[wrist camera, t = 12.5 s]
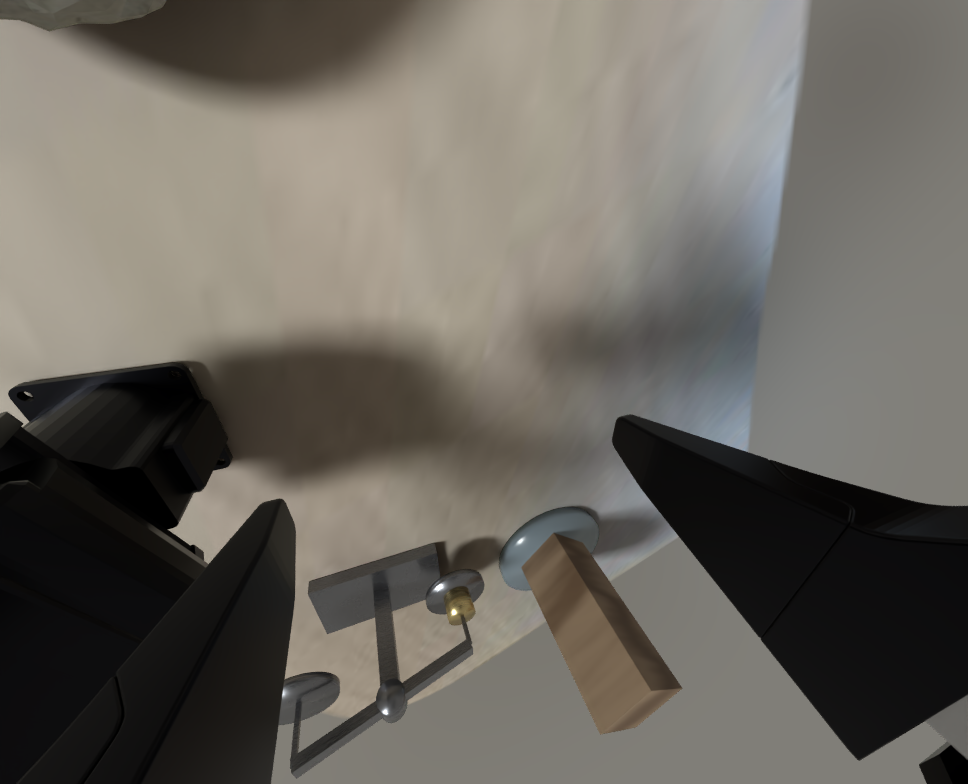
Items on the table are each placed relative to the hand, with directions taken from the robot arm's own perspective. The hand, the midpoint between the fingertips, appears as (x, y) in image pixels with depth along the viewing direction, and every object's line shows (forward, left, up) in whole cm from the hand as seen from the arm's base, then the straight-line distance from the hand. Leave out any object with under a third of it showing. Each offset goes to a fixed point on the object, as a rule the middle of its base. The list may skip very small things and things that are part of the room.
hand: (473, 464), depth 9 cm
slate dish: (+11, -26, -13) cm, 31 cm away
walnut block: (+11, -26, -12) cm, 31 cm away
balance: (-5, -23, -13) cm, 27 cm away
